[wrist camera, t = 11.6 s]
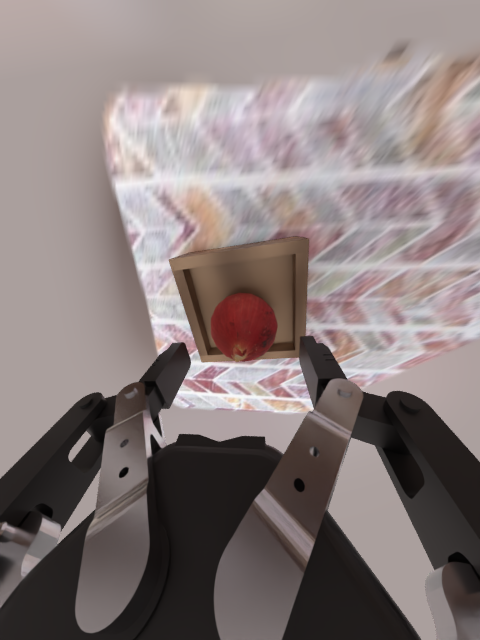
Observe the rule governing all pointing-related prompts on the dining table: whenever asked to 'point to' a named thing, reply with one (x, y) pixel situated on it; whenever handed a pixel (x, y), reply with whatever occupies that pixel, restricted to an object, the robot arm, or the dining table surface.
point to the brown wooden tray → (246, 289)
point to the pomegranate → (243, 327)
